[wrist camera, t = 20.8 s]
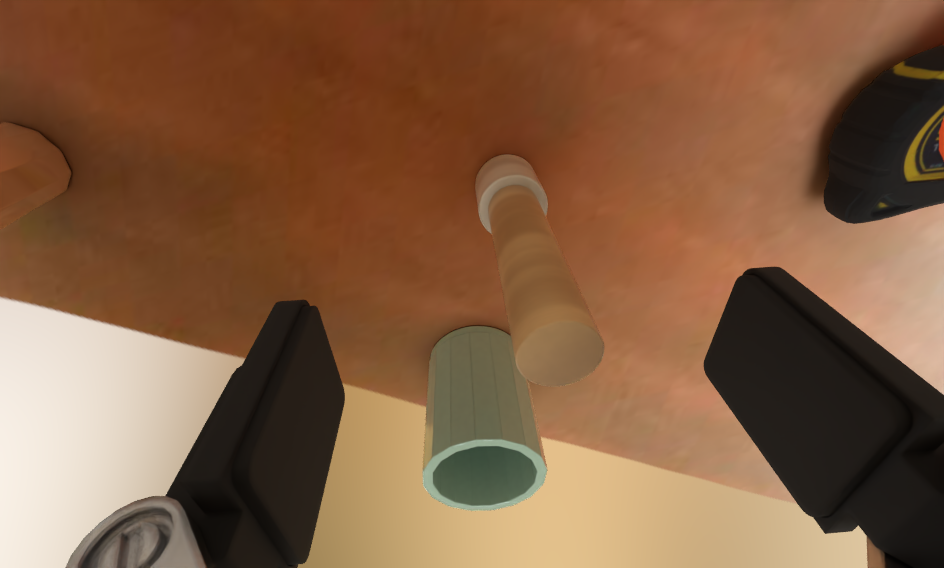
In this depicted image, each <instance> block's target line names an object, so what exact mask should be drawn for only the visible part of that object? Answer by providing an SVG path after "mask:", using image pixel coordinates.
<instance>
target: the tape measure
mask: <svg viewBox="0 0 944 568" xmlns="http://www.w3.org/2000/svg"><path fill="white" fill-rule="evenodd" d="M943 118H944V45H941V46H938V47H935V48H932V49H929V50H926V51H924V52H921V53H918V54H916V55H914V56H912V57H910V58H908V59H906V60H904V61H902V62H901V63H899V64H897V65H896V66H894V67H892V68H891V69H889V70H886V71H884V72H883V73H881V74H880V75H879V76H878V77H877V78H875V80H874V81H873V82H872V83H871V84H870V85H869V86H867V87H866V88H864V89H863V90H862V91H861V92H860V93H859V94H858V96H857V97H856V98H855V99H854V100H853V102H852V103H851V104H850V105H849V106H848V108H847V109H846V111H845V112H844V114H843V115H842V119H841V121H840V122H839V123H838V124H837V126H836V128H835V130H834V133H833V136H832V139H831V141H830V144H829V149H830V154H829V155H828V161H829V177H828V180H827V183H826V187H825V190H824V204H825V207H826V210H827V211H828V212H829V213H831V214H832V215H834V216H835V217H837V218H839V219H840V220H842V221H844V222H847V223H853V224H855V223H865V222H871V221H876V220H881V219H885V218H889V217H893V216H896V215H900V214H903V213H906V212H910V211H913V210H917V209H920V208H924V207H928V206H933V205H937V204H941V203H944V160H943V158H942V156H941V153H940V151H939V130H940V128H941V125H942V121H943Z"/></svg>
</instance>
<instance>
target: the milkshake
mask: <svg viewBox="0 0 944 568" xmlns="http://www.w3.org/2000/svg"><path fill="white" fill-rule="evenodd" d="M71 174H72V172H71V170H70V168H69V166H68V164H67V162H66V160H65V158H64V156H63V154H62V152H61V150H60V149H58V148H57V147H56V146H55V145H53V144H52V143H51V142H50V141H48V140H47V139H46V138H45V137H44V136H42V135H41V134H40V133H39V132H38V131H35V130H32V129H29V128H25V127H22V126H19V125H16V124H12V123H9V122H6V123H0V230H1V229H2V228H4V227H6V226H7V225H9V224H11V223H12V222H14V221H16V220H18V219H19V218H21V217H23V216H24V215H26V214H28V213H29V212H31V211H33V210H34V209H36V208H38V207H39V206H41V205H43V204H44V203H46V202H48V201H49V200H51V199H53V198H54V197H56V196H58V195H59V194H61V193H63V192H64V191H66V190H67V187H68V183H69V180H70V177H71Z"/></svg>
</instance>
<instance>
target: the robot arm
mask: <svg viewBox="0 0 944 568" xmlns="http://www.w3.org/2000/svg"><path fill="white" fill-rule="evenodd" d="M704 370H705V373H706V375H707V377H708V378H709V380H710V381H711V383H712V384H713V385H714V387H715V388H716V390H717V391H718V392H719V394H720V395H721V397H722V398H723V400H724V401H725V402H726V404H727V405H728V407H729V408H730V409H731V411H732V412H733V414H734V415H735V416H736V418H737V419H738V421H739V422H740V423H741V425H742V426H743V428H744V429H745V430H746V432H747V433H748V435H749V436H750V437H751V439H752V440H753V442H754V443H755V445H756V446H757V447H758V449H759V450H760V452H761V453H762V454H763V456H764V457H765V459H766V460H767V461H768V463H769V464H770V466H771V467H772V468H773V470H774V471H775V473H776V474H777V475H778V477H779V478H780V480H781V481H782V482H783V484H784V485H785V487H786V488H787V490H788V491H789V492H790V494H791V495H792V497H793V498H794V499H795V501H796V502H797V504H798V505H799V506H800V507H801V509H802V510H803V511H804V512H805V513H806V514H808V515H809V516H812V517H814V519H815V520H816V522H817V523H818V524H819V526H820V527H821V529H822V530H823V531H824V533H825V534H826V533H837V532H848V531H853V530H854V529H855V528H856V527H857V526H858V525H859V527H860V528H861V529H862V530H863V531H864V533H865V534H866V535H867V561H868V568H944V395H943V394H942V393H940V392H939V391H938V390H937V389H935V388H934V387H933V386H931V385H930V384H929V383H928V382H926V381H925V380H924V379H923V378H921V377H920V376H919V375H917V374H916V373H915V372H914V371H912V370H911V369H910V368H908V367H907V366H906V365H905V364H903V363H902V362H901V361H900V360H898V359H897V358H896V357H894V356H893V355H892V354H891V353H889V352H888V351H887V350H886V349H884V348H883V347H882V346H880V345H879V344H878V343H877V342H875V341H874V340H873V339H871V338H870V337H869V336H868V335H866V334H865V333H864V332H863V331H861V330H860V329H859V328H857V327H856V326H855V325H854V324H852V323H851V322H850V321H849V320H847V319H846V318H845V317H843V316H842V315H841V314H840V313H838V312H837V311H836V310H835V309H833V308H832V307H831V306H829V305H828V304H827V303H826V302H824V301H823V300H822V299H820V298H819V297H818V296H817V295H815V294H814V293H813V292H812V291H810V290H809V289H808V288H806V287H805V286H804V285H803V284H801V283H800V282H799V281H798V280H796V279H795V278H794V277H792V276H791V275H790V274H789V273H787V272H786V271H785V270H783V269H782V268H780V267H763V268H751V269H748V270H746V271H745V272H744V273H743V275H742V276H740V277H738V278H737V280H736V282H735V284H734V287H733V289H732V292H731V294H730V297H729V299H728V302H727V304H726V307H725V309H724V312H723V314H722V317H721V319H720V322H719V324H718V327H717V330H716V332H715V335H714V337H713V340H712V342H711V345H710V347H709V350H708V352H707V355H706V357H705V360H704ZM344 401H345V393H344V388H343V385H342V381H341V378H340V375H339V372H338V369H337V366H336V363H335V360H334V357H333V354H332V350H331V347H330V344H329V341H328V338H327V335H326V332H325V329H324V326H323V323H322V319H321V316H320V313H319V310H318V308H317V307H316V306H310V305H309V303H308V302H307V301H306V300H295V301H281V302H277V303H276V304H275V305H274V307H273V309H272V311H271V313H270V314H269V316H268V318H267V320H266V322H265V324H264V326H263V327H262V329H261V331H260V333H259V335H258V337H257V339H256V340H255V342H254V344H253V346H252V348H251V350H250V352H249V353H248V355H247V357H246V359H245V361H244V363H243V365H242V366H240V367H239V368H237V369H236V371H235V372H234V373H233V374H232V376H231V378H230V380H229V382H228V383H227V385H226V387H225V389H224V391H223V392H222V394H221V396H220V398H219V400H218V401H217V403H216V405H215V407H214V409H213V411H212V413H211V414H210V416H209V418H208V420H207V421H206V423H205V425H204V427H203V429H202V431H201V432H200V434H199V436H198V438H197V440H196V442H195V443H194V445H193V447H192V449H191V451H190V453H189V454H188V456H187V458H186V460H185V461H184V463H183V465H182V467H181V469H180V471H179V472H178V474H177V476H176V478H175V480H174V482H173V483H172V485H171V487H170V489H169V491H168V492H167V494H166V496H152V497H148V498H144V499H141V500H137V501H134V502H132V503H130V504H128V505H127V506H124V507H122V508H120V509H119V510H117V511H115V512H114V513H113V514H111V515H110V516H108V517H107V518H106V519H104V520H103V521H102V522H100V523H99V524H98V525H97V526H96V527H95V528H94V529H93V530H92V531H91V532H90V533H89V534H88V535H87V536H86V537H85V538H84V539H83V540H82V542H81V543H80V544H79V546H78V547H77V548H76V550H75V551H74V552H73V554H72V555H71V557H70V559H69V561H68V564H67V566H66V568H297V567H298V564H303V563H305V562H306V560H307V558H308V556H309V552H310V548H311V544H312V540H313V535H314V531H315V527H316V522H317V518H318V514H319V510H320V505H321V501H322V497H323V493H324V488H325V484H326V480H327V476H328V471H329V467H330V463H331V458H332V454H333V450H334V445H335V441H336V437H337V433H338V428H339V424H340V420H341V416H342V411H343V407H344Z"/></svg>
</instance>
